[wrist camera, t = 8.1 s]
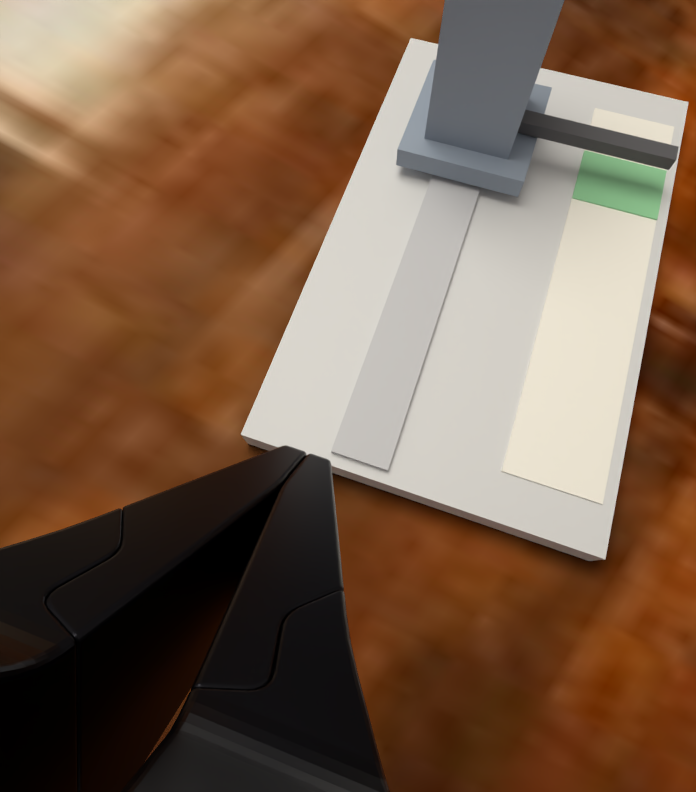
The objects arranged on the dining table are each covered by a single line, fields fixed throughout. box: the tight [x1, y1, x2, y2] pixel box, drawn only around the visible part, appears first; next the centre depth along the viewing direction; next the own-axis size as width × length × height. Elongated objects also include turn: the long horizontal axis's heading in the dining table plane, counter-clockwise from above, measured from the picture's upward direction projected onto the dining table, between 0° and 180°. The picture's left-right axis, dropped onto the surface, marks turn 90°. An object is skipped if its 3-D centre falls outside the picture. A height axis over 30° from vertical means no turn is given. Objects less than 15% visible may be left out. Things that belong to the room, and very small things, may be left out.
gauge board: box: [241, 38, 688, 561], centre depth 25 cm, size 24×15×2 cm, turn 161°
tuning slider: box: [396, 0, 679, 197], centre depth 20 cm, size 6×12×12 cm, turn 71°
